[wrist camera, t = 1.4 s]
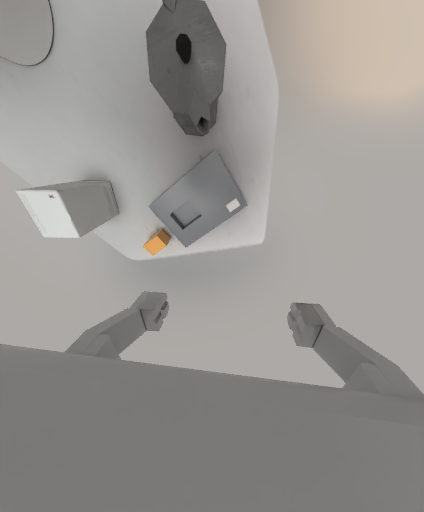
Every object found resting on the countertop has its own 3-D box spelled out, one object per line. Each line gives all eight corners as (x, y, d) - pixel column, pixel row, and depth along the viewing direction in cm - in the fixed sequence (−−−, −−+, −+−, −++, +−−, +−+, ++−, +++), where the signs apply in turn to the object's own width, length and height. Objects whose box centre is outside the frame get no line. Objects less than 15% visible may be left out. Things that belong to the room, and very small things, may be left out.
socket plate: (152, 203, 39) (147, 206, 36) (215, 150, 34) (215, 148, 31) (187, 243, 45) (185, 248, 42) (244, 202, 40) (248, 205, 37)
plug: (150, 237, 44) (142, 246, 39) (162, 227, 42) (156, 235, 37) (158, 246, 45) (152, 255, 40) (171, 237, 44) (166, 245, 39)
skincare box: (83, 179, 36) (10, 186, 22) (112, 180, 36) (56, 188, 23) (96, 214, 40) (40, 238, 27) (121, 215, 40) (79, 239, 27)
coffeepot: (226, 138, 33) (244, 112, 17) (186, 154, 34) (169, 142, 18) (202, 29, 25) (196, -194, 10) (152, 54, 26) (75, -108, 11)
